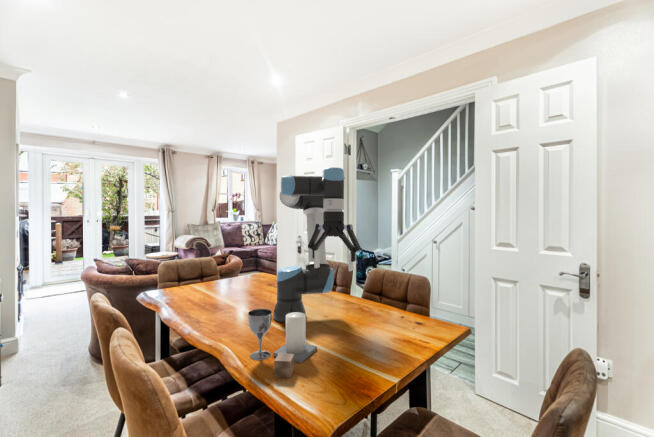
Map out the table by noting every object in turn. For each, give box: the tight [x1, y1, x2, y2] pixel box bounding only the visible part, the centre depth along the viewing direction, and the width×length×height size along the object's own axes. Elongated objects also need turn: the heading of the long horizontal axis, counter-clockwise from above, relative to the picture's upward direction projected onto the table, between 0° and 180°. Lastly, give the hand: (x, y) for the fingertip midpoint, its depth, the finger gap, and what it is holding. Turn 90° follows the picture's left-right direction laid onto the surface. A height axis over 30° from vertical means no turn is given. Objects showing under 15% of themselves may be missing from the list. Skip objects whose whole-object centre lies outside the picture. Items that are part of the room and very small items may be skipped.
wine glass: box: [247, 308, 273, 361], centre depth 106 cm, size 8×8×15 cm
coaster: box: [273, 343, 318, 364], centre depth 108 cm, size 11×11×1 cm
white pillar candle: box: [285, 312, 307, 354], centre depth 108 cm, size 7×7×12 cm
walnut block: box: [273, 353, 295, 379], centre depth 95 cm, size 5×5×5 cm
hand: (333, 269), depth 112 cm, fingers open, 13 cm apart
